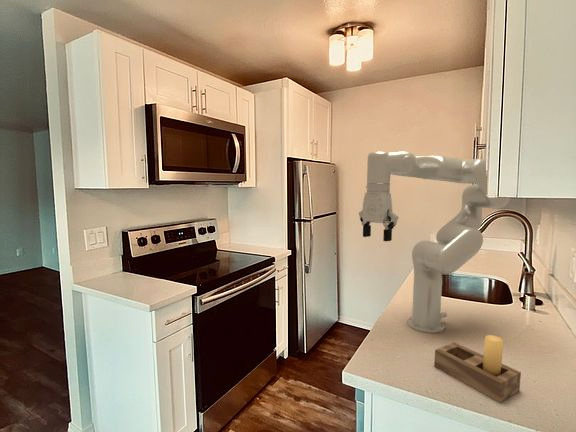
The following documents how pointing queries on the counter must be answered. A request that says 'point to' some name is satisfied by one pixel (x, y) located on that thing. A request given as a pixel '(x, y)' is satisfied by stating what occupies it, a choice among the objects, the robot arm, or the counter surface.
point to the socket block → (477, 371)
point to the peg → (493, 355)
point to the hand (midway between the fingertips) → (376, 238)
